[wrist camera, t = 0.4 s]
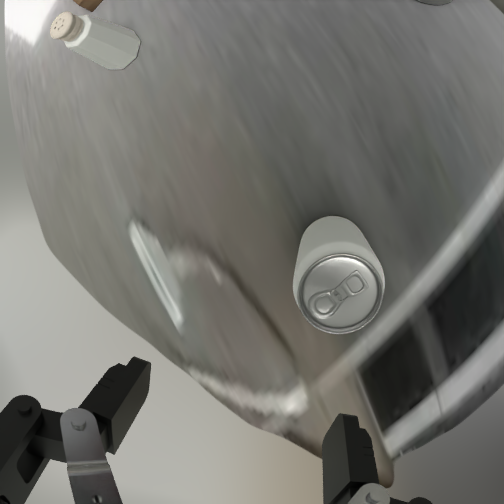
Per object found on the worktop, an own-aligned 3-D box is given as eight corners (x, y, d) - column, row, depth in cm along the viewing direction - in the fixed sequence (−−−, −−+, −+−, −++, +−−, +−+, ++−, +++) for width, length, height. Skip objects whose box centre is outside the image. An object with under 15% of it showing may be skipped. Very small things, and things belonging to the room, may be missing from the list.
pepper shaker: (95, 62, 30) (31, 43, 20) (119, 24, 29) (60, -6, 18) (124, 78, 30) (59, 58, 20) (150, 37, 29) (92, 4, 18)
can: (286, 241, 32) (270, 286, 21) (339, 201, 30) (353, 225, 19) (325, 290, 33) (327, 355, 21) (377, 253, 31) (407, 304, 19)
